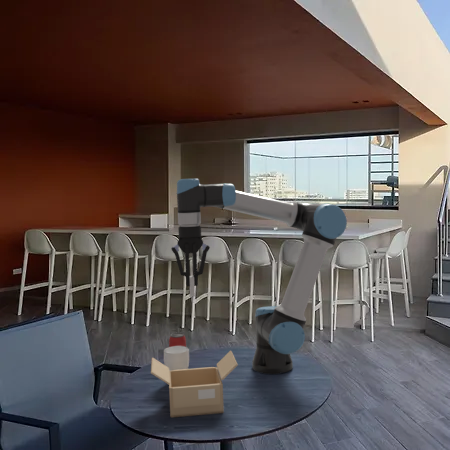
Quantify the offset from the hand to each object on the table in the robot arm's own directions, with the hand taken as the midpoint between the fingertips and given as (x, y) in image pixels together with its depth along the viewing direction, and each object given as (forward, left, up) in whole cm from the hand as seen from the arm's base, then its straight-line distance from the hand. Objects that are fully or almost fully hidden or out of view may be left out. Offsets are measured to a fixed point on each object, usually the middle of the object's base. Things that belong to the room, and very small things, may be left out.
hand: (192, 295), depth 170 cm
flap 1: (+9, +12, -23) cm, 27 cm away
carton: (+1, +12, -32) cm, 35 cm away
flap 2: (-7, +12, -23) cm, 26 cm away
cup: (+6, -8, -33) cm, 34 cm away
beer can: (+5, -27, -33) cm, 43 cm away
